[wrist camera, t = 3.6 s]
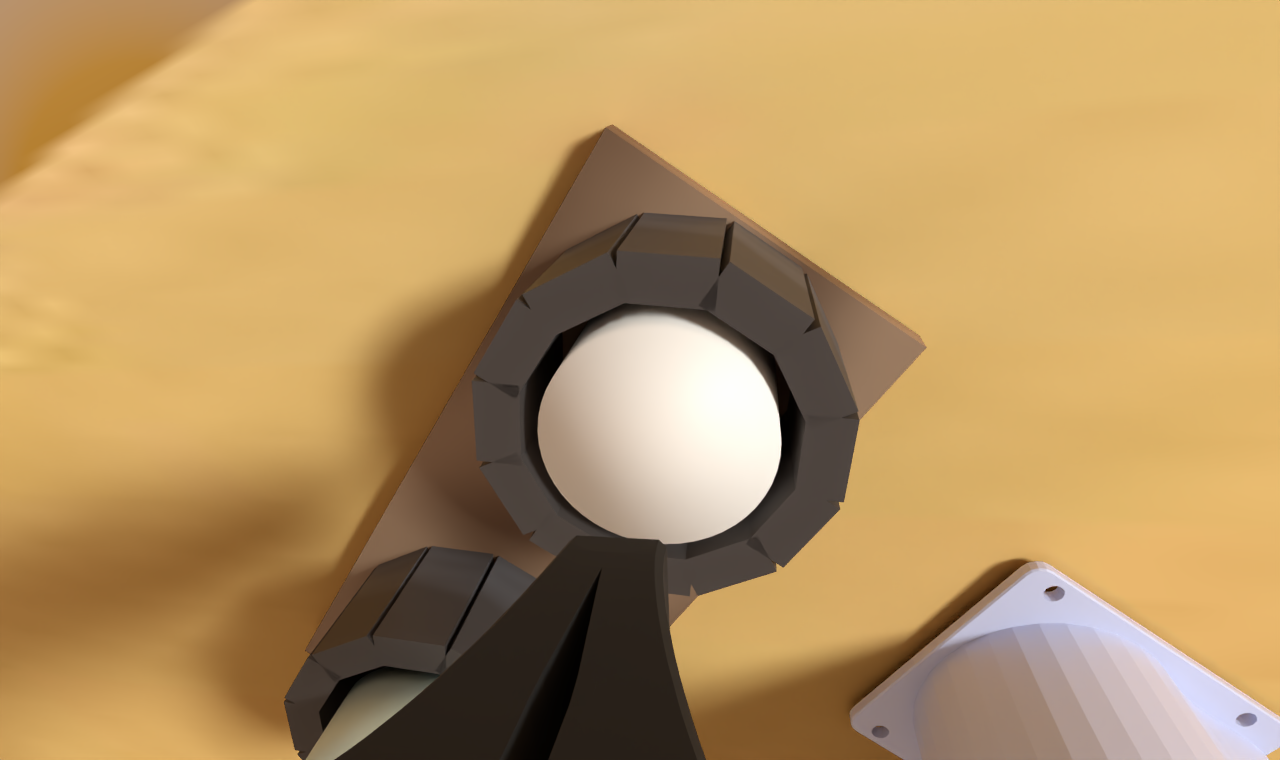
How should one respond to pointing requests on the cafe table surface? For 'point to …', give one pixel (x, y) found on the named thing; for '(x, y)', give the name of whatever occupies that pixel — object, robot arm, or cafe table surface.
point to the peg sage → (369, 708)
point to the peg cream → (662, 424)
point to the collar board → (510, 403)
